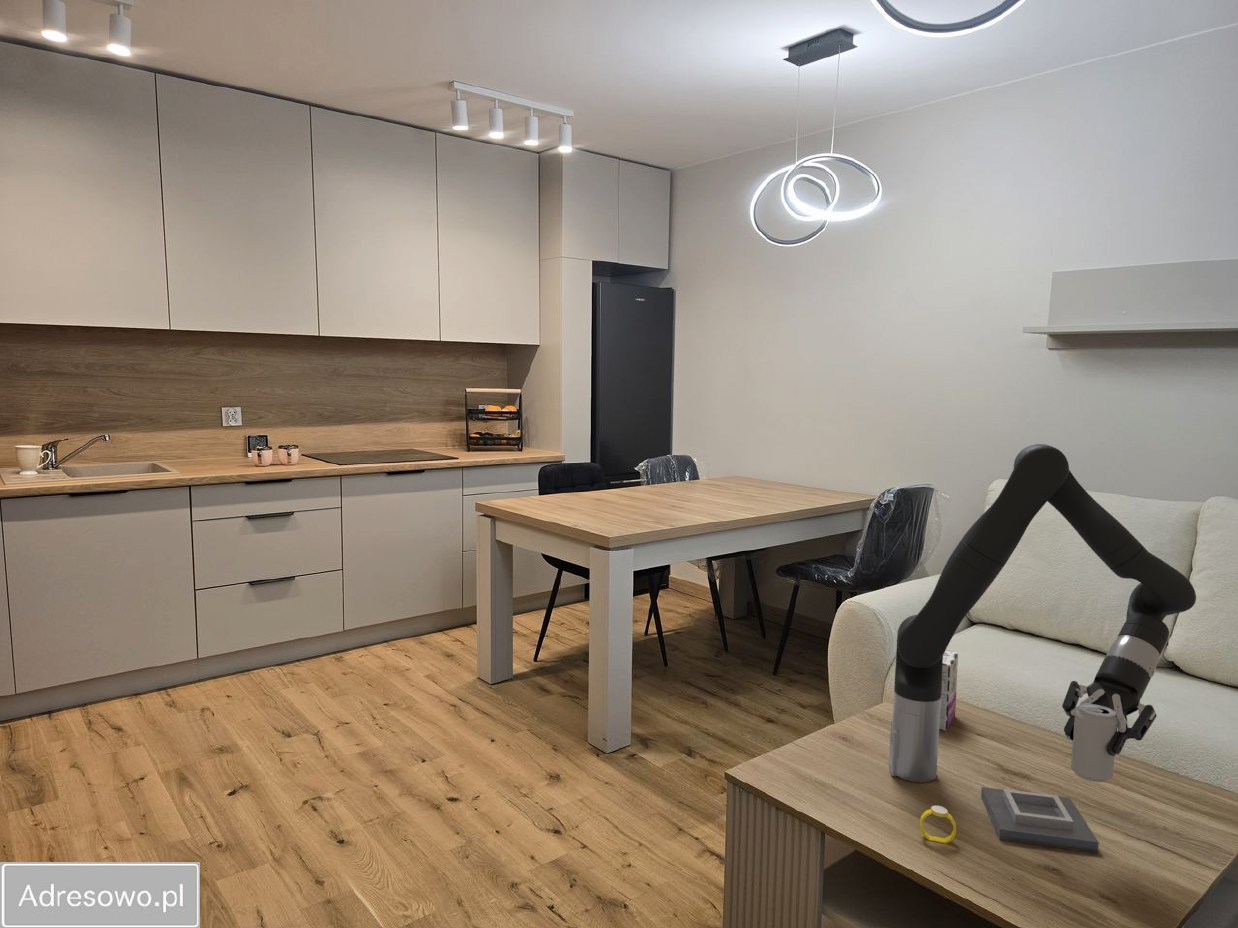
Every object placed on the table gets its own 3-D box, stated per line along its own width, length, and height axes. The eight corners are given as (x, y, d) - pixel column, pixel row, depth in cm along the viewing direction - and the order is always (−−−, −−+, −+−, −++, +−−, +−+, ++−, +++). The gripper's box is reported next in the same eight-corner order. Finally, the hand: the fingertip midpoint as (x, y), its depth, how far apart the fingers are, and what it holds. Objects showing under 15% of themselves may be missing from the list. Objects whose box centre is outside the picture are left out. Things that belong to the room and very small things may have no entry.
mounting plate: (999, 839, 145) (1000, 820, 145) (980, 796, 161) (982, 779, 160) (1097, 853, 142) (1099, 833, 141) (1069, 807, 157) (1070, 789, 157)
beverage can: (1118, 786, 137) (1125, 718, 136) (1077, 781, 139) (1083, 714, 137) (1104, 769, 144) (1110, 704, 142) (1064, 764, 145) (1070, 700, 144)
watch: (953, 841, 145) (958, 810, 144) (954, 849, 143) (958, 817, 142) (918, 831, 147) (922, 801, 146) (918, 839, 145) (922, 808, 144)
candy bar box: (934, 711, 203) (938, 648, 202) (955, 716, 201) (959, 652, 199) (925, 726, 194) (928, 660, 192) (947, 732, 191) (951, 664, 190)
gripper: (1080, 643, 149) (1040, 718, 144) (1167, 668, 137) (1128, 750, 132) (1092, 666, 153) (1053, 740, 147) (1178, 692, 141) (1139, 773, 135)
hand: (1089, 744), depth 140 cm, fingers closed on beverage can, 6 cm apart
